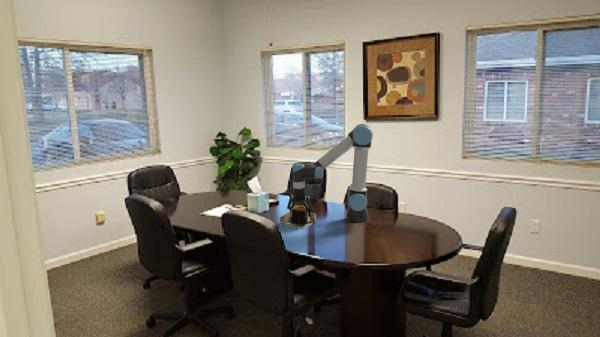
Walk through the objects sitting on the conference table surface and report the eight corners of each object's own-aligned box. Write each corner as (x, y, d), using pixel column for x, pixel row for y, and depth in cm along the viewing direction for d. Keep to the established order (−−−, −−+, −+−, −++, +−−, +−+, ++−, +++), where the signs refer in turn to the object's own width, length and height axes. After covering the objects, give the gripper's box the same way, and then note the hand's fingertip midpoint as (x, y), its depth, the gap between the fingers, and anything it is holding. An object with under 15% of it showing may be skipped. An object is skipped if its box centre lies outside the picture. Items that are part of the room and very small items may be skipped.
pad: (312, 223, 300) (312, 223, 300) (304, 228, 290) (304, 228, 290) (296, 221, 306) (296, 221, 305) (288, 226, 295) (288, 226, 295)
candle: (291, 224, 294) (290, 209, 292) (294, 219, 303) (294, 205, 301) (306, 224, 291) (305, 209, 289) (309, 220, 301) (309, 205, 299)
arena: (316, 222, 302) (315, 213, 301) (306, 228, 289) (305, 219, 288) (291, 219, 311) (290, 211, 310) (280, 225, 298) (279, 217, 297)
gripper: (318, 187, 291) (319, 220, 295) (286, 185, 302) (287, 217, 306) (312, 190, 285) (314, 223, 288) (280, 187, 295) (282, 220, 299)
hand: (300, 220), depth 297 cm, fingers closed on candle, 11 cm apart
